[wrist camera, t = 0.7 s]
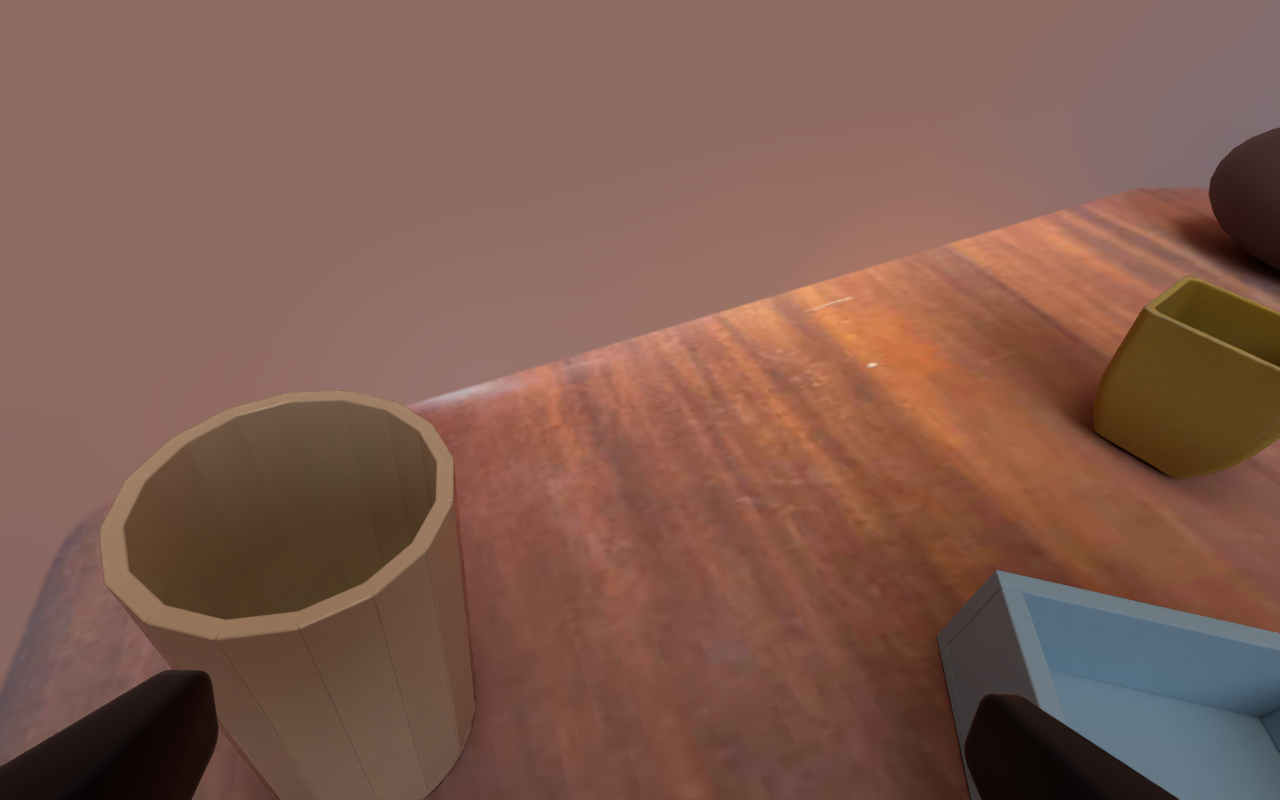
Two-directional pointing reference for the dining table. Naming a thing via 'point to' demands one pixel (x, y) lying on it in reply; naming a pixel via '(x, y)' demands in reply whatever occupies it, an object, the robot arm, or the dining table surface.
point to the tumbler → (308, 589)
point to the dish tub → (1126, 682)
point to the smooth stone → (1251, 196)
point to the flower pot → (1194, 381)
